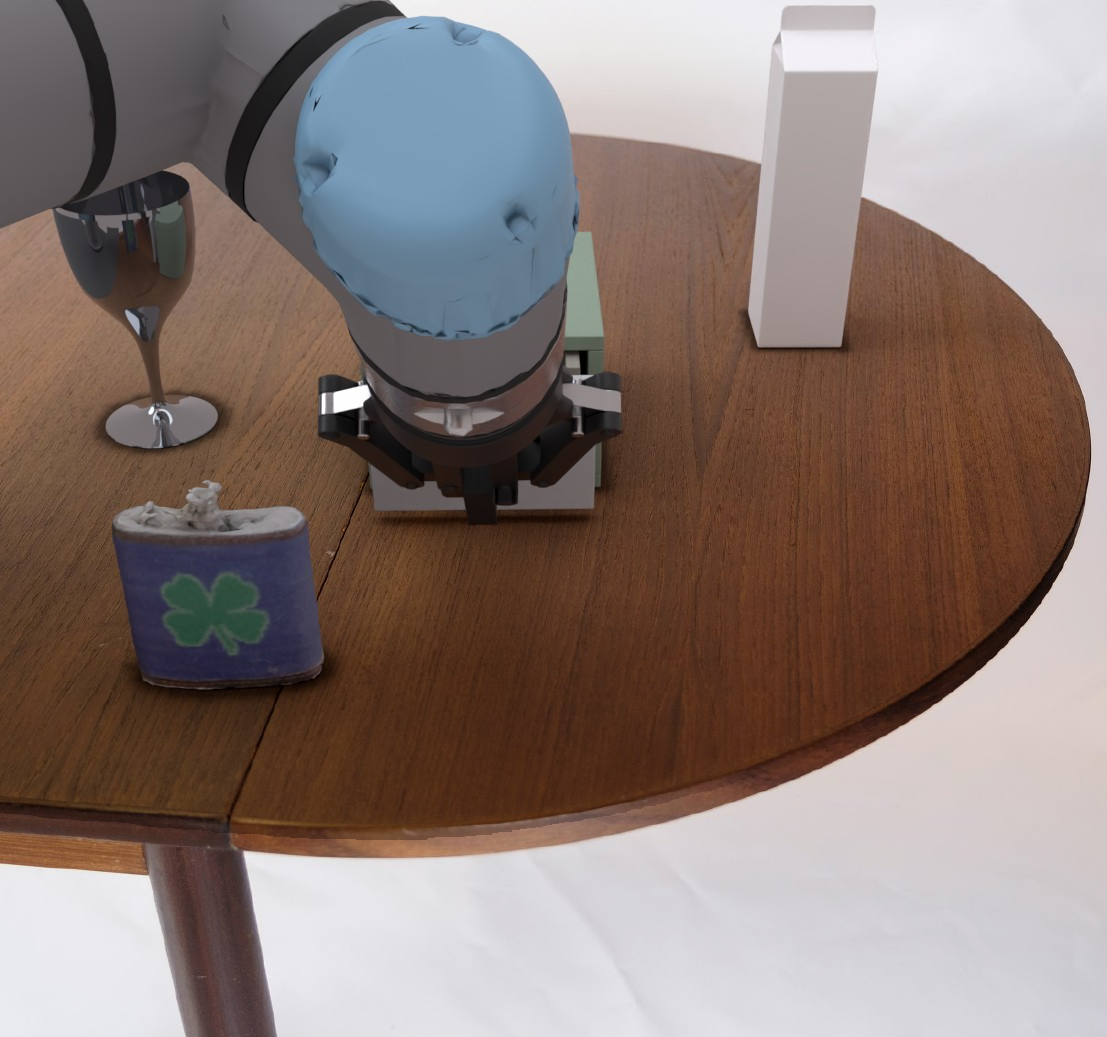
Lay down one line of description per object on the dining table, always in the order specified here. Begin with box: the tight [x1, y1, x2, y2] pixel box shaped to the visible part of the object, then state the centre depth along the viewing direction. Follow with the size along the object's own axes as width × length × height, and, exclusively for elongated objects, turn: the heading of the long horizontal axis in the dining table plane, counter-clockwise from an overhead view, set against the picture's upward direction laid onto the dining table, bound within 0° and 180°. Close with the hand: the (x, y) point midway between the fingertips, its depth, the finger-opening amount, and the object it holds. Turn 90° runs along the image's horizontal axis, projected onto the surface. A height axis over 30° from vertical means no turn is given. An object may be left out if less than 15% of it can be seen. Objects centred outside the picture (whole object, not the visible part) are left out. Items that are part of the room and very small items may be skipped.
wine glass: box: [52, 170, 219, 449], centre depth 89 cm, size 8×8×15 cm
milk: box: [747, 4, 879, 348], centre depth 98 cm, size 6×6×22 cm
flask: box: [111, 479, 325, 691], centre depth 69 cm, size 9×3×11 cm, turn 91°
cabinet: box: [359, 231, 605, 490], centre depth 90 cm, size 16×14×10 cm
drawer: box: [371, 350, 596, 512], centre depth 84 cm, size 19×13×8 cm, turn 1°
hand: (482, 499), depth 76 cm, fingers closed
